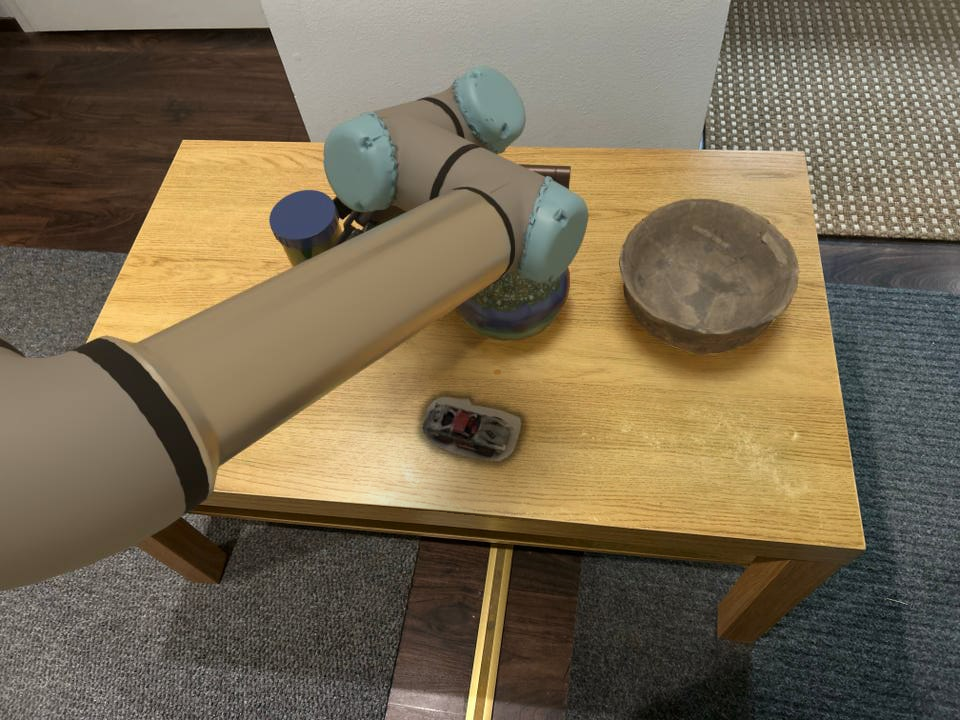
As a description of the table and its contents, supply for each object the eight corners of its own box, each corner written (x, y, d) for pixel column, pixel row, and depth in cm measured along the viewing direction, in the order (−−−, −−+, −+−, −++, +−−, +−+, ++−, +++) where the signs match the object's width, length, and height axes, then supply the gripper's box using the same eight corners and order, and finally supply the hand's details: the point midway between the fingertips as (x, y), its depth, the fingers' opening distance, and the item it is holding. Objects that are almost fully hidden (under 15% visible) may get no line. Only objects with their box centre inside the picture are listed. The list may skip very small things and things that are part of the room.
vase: (454, 269, 97) (441, 201, 85) (563, 261, 96) (566, 191, 85) (454, 362, 89) (441, 300, 77) (574, 354, 88) (578, 291, 76)
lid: (298, 260, 82) (293, 250, 80) (261, 225, 85) (255, 215, 84) (352, 223, 84) (348, 212, 83) (314, 190, 88) (310, 179, 86)
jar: (328, 321, 93) (295, 250, 81) (297, 290, 96) (260, 217, 84) (372, 288, 95) (346, 215, 83) (340, 259, 99) (310, 184, 86)
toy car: (518, 463, 81) (517, 452, 78) (417, 457, 82) (413, 446, 79) (522, 400, 85) (522, 388, 82) (427, 395, 86) (423, 383, 84)
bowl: (623, 241, 97) (630, 189, 88) (776, 259, 93) (799, 206, 85) (603, 364, 87) (609, 319, 78) (774, 390, 83) (800, 345, 74)
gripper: (403, 286, 69) (308, 344, 84) (463, 120, 81) (370, 198, 97) (340, 244, 65) (253, 313, 81) (412, 77, 78) (325, 165, 93)
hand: (317, 251), depth 89 cm, fingers open, 13 cm apart
